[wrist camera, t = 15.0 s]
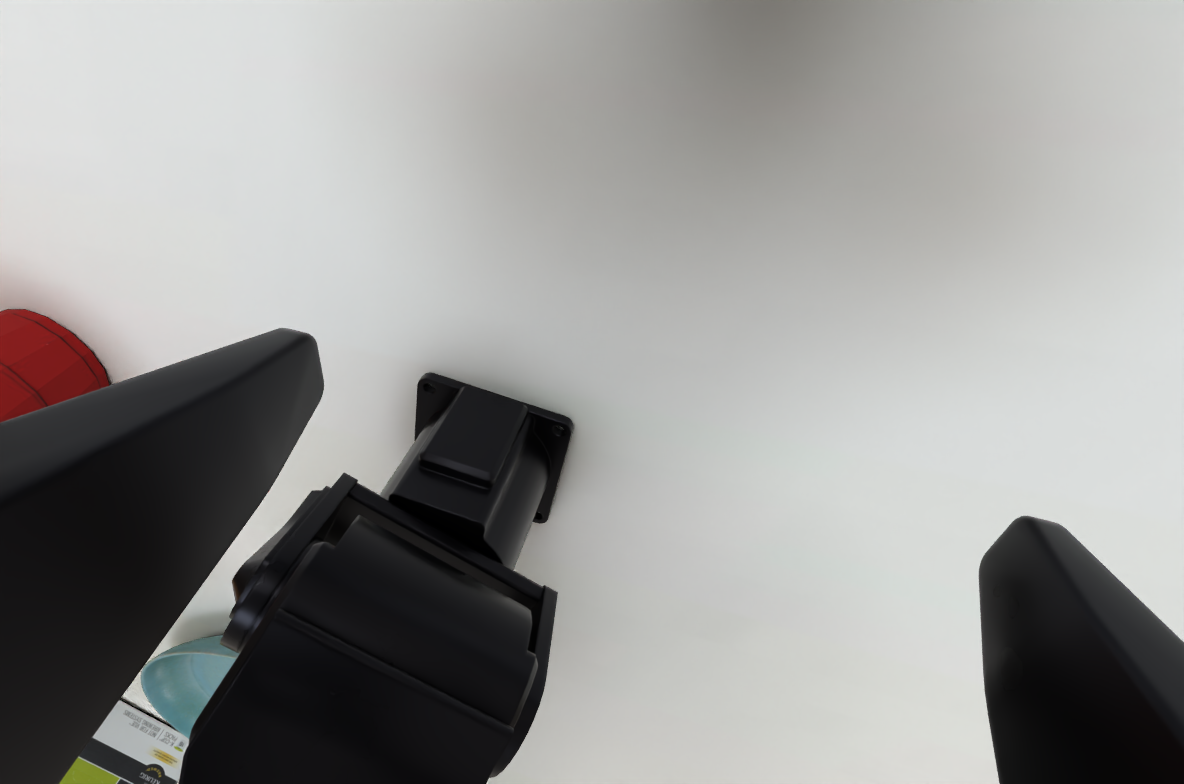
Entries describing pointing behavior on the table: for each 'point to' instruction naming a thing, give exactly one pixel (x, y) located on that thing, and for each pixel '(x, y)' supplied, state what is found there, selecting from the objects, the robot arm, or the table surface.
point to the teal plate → (186, 679)
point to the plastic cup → (42, 364)
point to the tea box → (130, 751)
